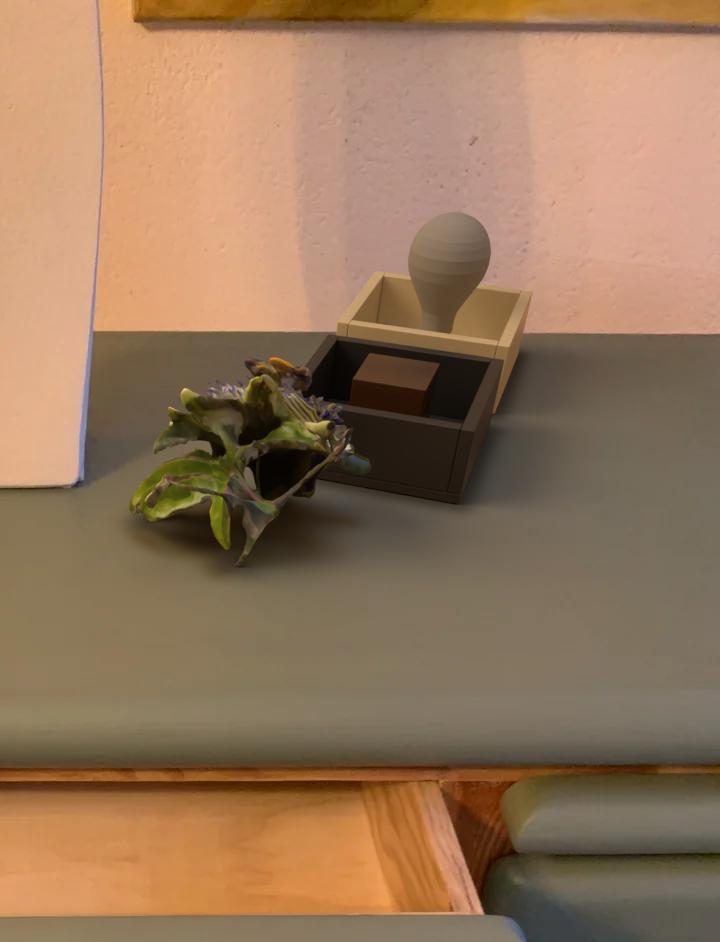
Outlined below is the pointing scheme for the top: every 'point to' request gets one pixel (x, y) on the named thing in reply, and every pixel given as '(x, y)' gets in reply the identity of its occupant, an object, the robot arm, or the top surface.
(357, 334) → the cream bin
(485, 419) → the charcoal bin
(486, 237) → the light bulb
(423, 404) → the walnut block
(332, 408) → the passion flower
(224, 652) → the top surface
